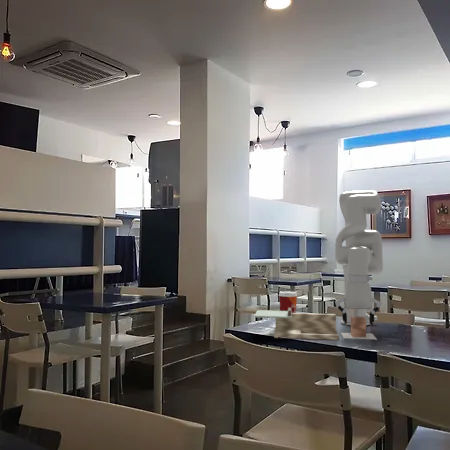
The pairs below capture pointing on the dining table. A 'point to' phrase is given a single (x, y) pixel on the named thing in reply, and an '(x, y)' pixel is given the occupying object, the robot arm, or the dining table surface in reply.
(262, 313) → the sliding lid
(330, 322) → the wooden box
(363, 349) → the dining table surface
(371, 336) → the grey mat
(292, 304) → the coffee cup
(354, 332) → the terracotta block
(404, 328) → the dining table surface
